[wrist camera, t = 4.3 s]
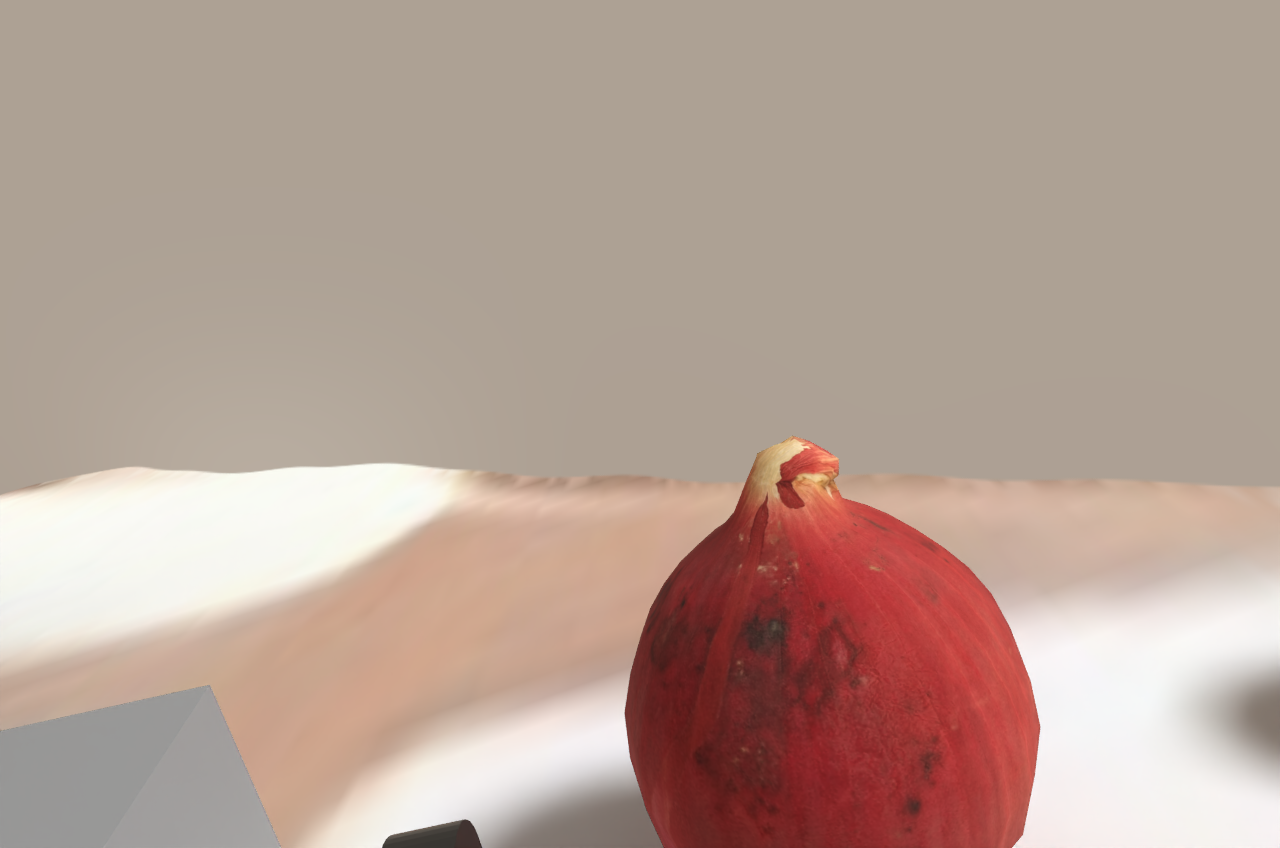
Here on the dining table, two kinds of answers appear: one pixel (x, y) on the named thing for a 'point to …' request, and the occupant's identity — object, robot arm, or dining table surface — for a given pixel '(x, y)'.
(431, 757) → the dining table surface
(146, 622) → the dining table surface
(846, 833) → the red squash
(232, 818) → the grey block
